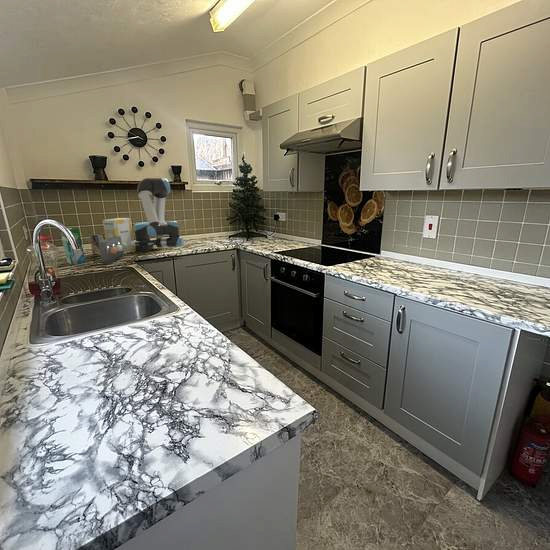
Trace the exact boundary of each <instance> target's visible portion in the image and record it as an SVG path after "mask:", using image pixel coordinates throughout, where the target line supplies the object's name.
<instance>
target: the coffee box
mask: <svg viewBox="0 0 550 550" xmlns="http://www.w3.org/2000/svg"><path fill="white" fill-rule="evenodd" d="M88 237H89V241H90V246H91V250H92V251H91V252H92V255H93V254H98V255H97V256H101V255H100V250H99V245H98V242H99V241H102V240H106V237H105V234H91V235H88Z"/></svg>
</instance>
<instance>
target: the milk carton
mask: <svg viewBox="0 0 550 550" xmlns="http://www.w3.org/2000/svg"><path fill="white" fill-rule="evenodd" d="M67 229H69V230H70V231H71V232H72V233H73V235H74V236H75V238H76V240H77V242H78V244H79V247H80V250H74V249H73V248H72V247H71V246H70V244H69V242H68V240H67V238H66V237H65V235H64V234H63V233H62V232H61V231H60V236H61V241H62V245H63V249H64V254H65V260H66V263H67V264H69V265H71V266H72V265H73V264H74V265H78V263H79V264H83V263H82V262H85V263H86V257H85V252H84V248H83V247H84V246H83V242H82V238H81V233H80V229H79V228H78V227H76V228H71V227H69V228H67ZM74 265H73V266H74Z"/></svg>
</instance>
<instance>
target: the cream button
mask: <svg viewBox="0 0 550 550" xmlns="http://www.w3.org/2000/svg"><path fill="white" fill-rule="evenodd" d="M116 248H117V251H122V249H123V248H122V246H121V245H116Z"/></svg>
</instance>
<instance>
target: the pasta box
mask: <svg viewBox="0 0 550 550" xmlns="http://www.w3.org/2000/svg"><path fill="white" fill-rule="evenodd" d="M102 225H103V230H104V238H105V240H106V239H109V238H112V237H115V236H121V242H122V243H126V244H127V249H123V254H125V255H128V254H127V253H129V254H131V253H130V252H132V253H134V252H133V251H136V250H135V245H131V241H135V236H134V229H133V225H132V218H131V217H117V218H109V219H103V220H102ZM136 252H137V251H136Z"/></svg>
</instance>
